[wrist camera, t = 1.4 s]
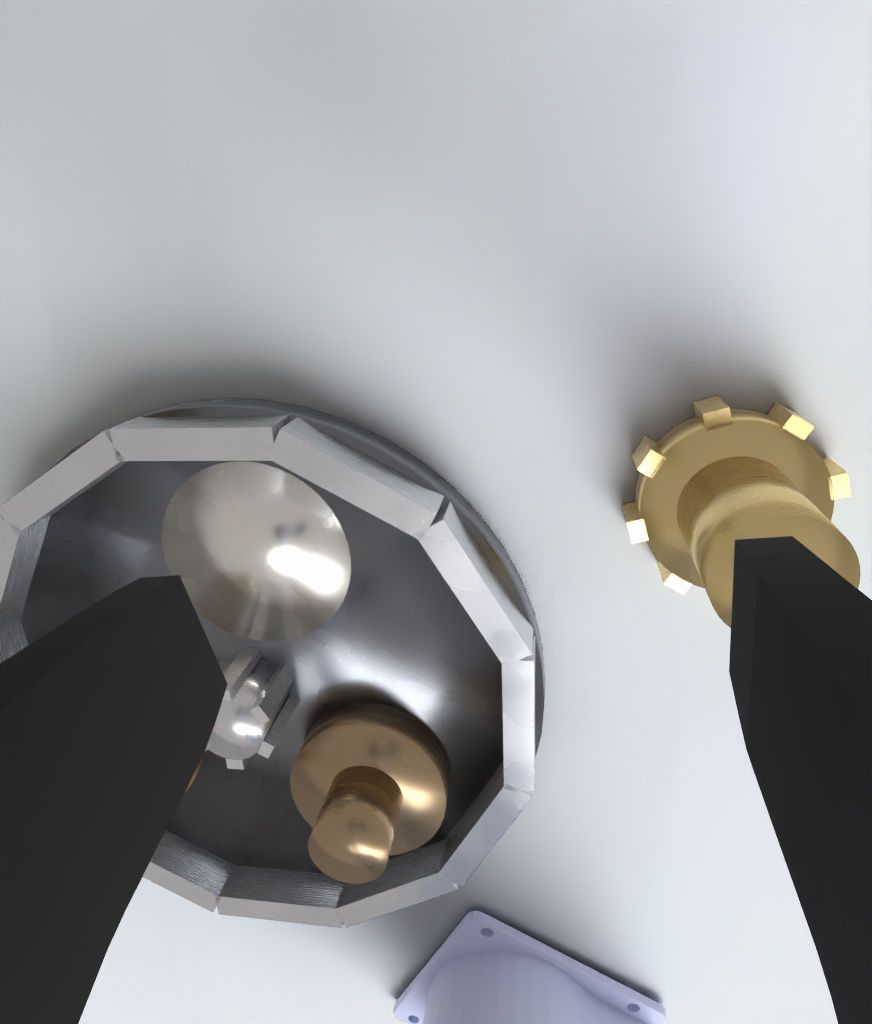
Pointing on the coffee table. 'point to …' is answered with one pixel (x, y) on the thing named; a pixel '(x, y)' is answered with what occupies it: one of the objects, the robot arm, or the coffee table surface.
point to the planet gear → (734, 496)
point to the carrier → (304, 649)
